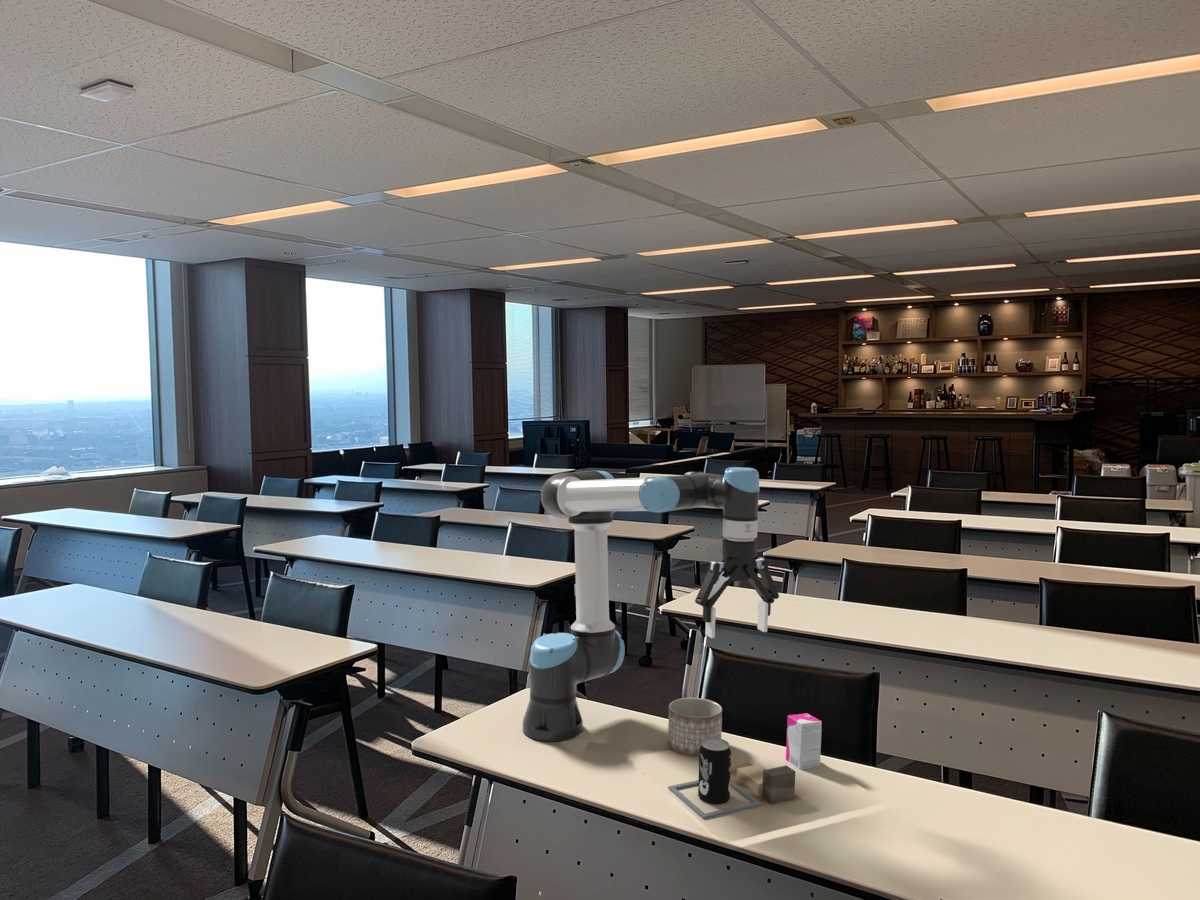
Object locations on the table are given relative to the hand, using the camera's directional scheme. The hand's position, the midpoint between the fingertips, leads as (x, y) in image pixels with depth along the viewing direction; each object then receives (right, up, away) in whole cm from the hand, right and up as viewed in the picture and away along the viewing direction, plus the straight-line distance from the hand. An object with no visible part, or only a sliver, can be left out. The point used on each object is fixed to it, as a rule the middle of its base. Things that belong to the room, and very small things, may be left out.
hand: (736, 633), depth 185 cm
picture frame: (-6, -33, -10) cm, 35 cm away
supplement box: (+16, -33, +8) cm, 37 cm away
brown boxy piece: (+4, -33, -3) cm, 33 cm away
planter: (-8, -32, +16) cm, 36 cm away
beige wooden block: (+4, -32, -4) cm, 32 cm away
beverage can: (-6, -33, -10) cm, 35 cm away
